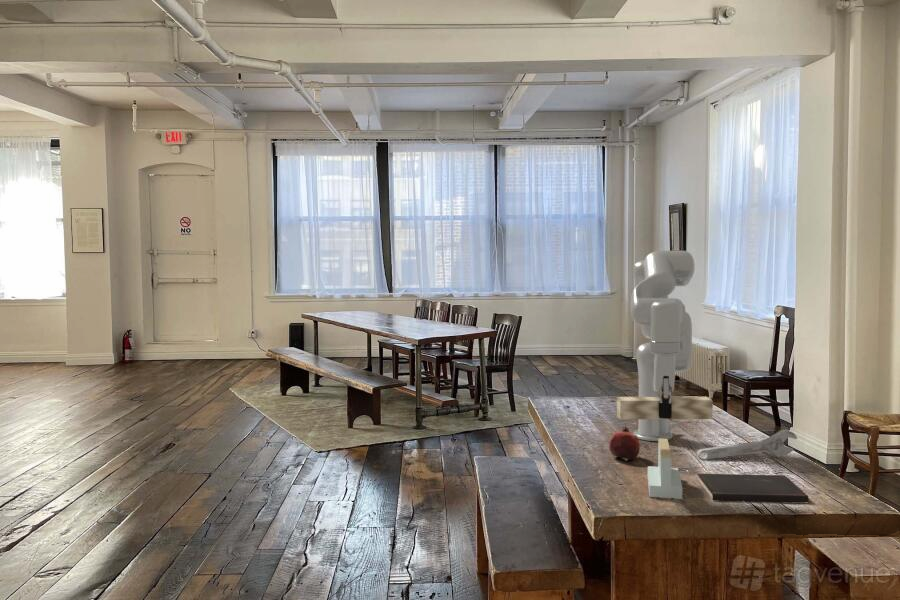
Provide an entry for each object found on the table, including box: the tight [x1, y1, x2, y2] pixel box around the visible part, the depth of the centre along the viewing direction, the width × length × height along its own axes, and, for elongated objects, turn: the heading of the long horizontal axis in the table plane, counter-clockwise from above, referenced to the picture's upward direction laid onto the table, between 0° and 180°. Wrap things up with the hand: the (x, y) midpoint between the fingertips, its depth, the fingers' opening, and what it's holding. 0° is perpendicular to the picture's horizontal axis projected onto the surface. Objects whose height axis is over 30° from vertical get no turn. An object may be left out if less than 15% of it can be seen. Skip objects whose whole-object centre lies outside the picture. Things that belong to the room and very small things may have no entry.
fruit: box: [608, 425, 641, 462], centre depth 211 cm, size 9×10×10 cm
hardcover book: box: [697, 473, 810, 503], centre depth 182 cm, size 16×23×2 cm
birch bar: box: [616, 396, 714, 420], centre depth 186 cm, size 24×4×5 cm, turn 88°
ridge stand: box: [647, 438, 683, 500], centre depth 185 cm, size 16×8×11 cm, turn 166°
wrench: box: [696, 429, 798, 460], centre depth 210 cm, size 8×2×30 cm
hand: (664, 414), depth 186 cm, fingers closed on birch bar, 5 cm apart
